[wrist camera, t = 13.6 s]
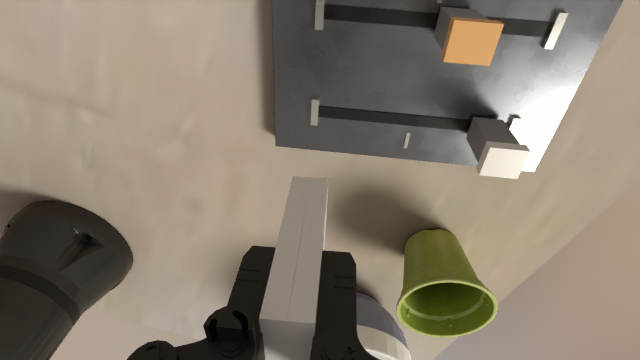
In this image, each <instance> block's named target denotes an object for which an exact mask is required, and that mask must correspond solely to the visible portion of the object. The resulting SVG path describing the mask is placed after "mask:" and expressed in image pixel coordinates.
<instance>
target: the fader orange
mask: <svg viewBox="0 0 640 360" xmlns="http://www.w3.org/2000/svg"><path fill="white" fill-rule="evenodd" d="M503 26H504V24H503V23H502V22H500V21H498V20H489V19H487V18H486V17H485V16H484V15H482V14H481V13H480V12H478V11H477V10H476V9H463V8H451V7H441V8H440V12H439V16H438V20H437V25H436V29H435V33H434V38H435V40H436V41H437V43H438V44H439V46H440V48H441V49H442V55H441V59H442V61H443V62H448V63H460V64H472V65H483V66H490V63H491V61H492V58H493V55H494V52H495V49H496V46H497V43H498V40H499V38H500V35H501V32H502V29H503Z"/></svg>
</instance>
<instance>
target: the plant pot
mask: <svg viewBox="0 0 640 360" xmlns="http://www.w3.org/2000/svg"><path fill="white" fill-rule="evenodd" d="M497 308H498V306H497V301H496V299H495V297H494V295H493V294H492V293H491V291H490V290H488V289H487V288H486V287H485V286H484V285H483V284H482V282H481V281H480V280H479V279H478V278H477V276H476V274H475V272H474V270H473V269H472V267H471V265H470V263H469V261H468V259H467V257H466V255H465V253H464V251H463V249H462V247H461V245H460V243H459V242H458V240H457V238H456V237H455V236H454V235H453V234H452V233H450V232H448V231H446V230H442V229H436V230H422V231H419V232H417V233H415V234H414V235H412V236H411V237H410V238H409V239H408V241H407V242H406V245H405V259H404V280H403V289H402V292H401V297H400V298H399V300H398V303H397V307H396V311H397V316H398V319H399V320H400V322H401V323H402V324H403V325H404V326H406V327H407V328H408V329H410V330H412V331H414V332H417V333H419V334H422V335H427V336H432V337H456V336H461V335H466V334H469V333H473V332H475V331H477V330H479V329H481V328H483V327H485V326H486V325H487V324H488V323H489V322H491V321H492V320H493V318H494V316H495V314H496V312H497Z"/></svg>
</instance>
